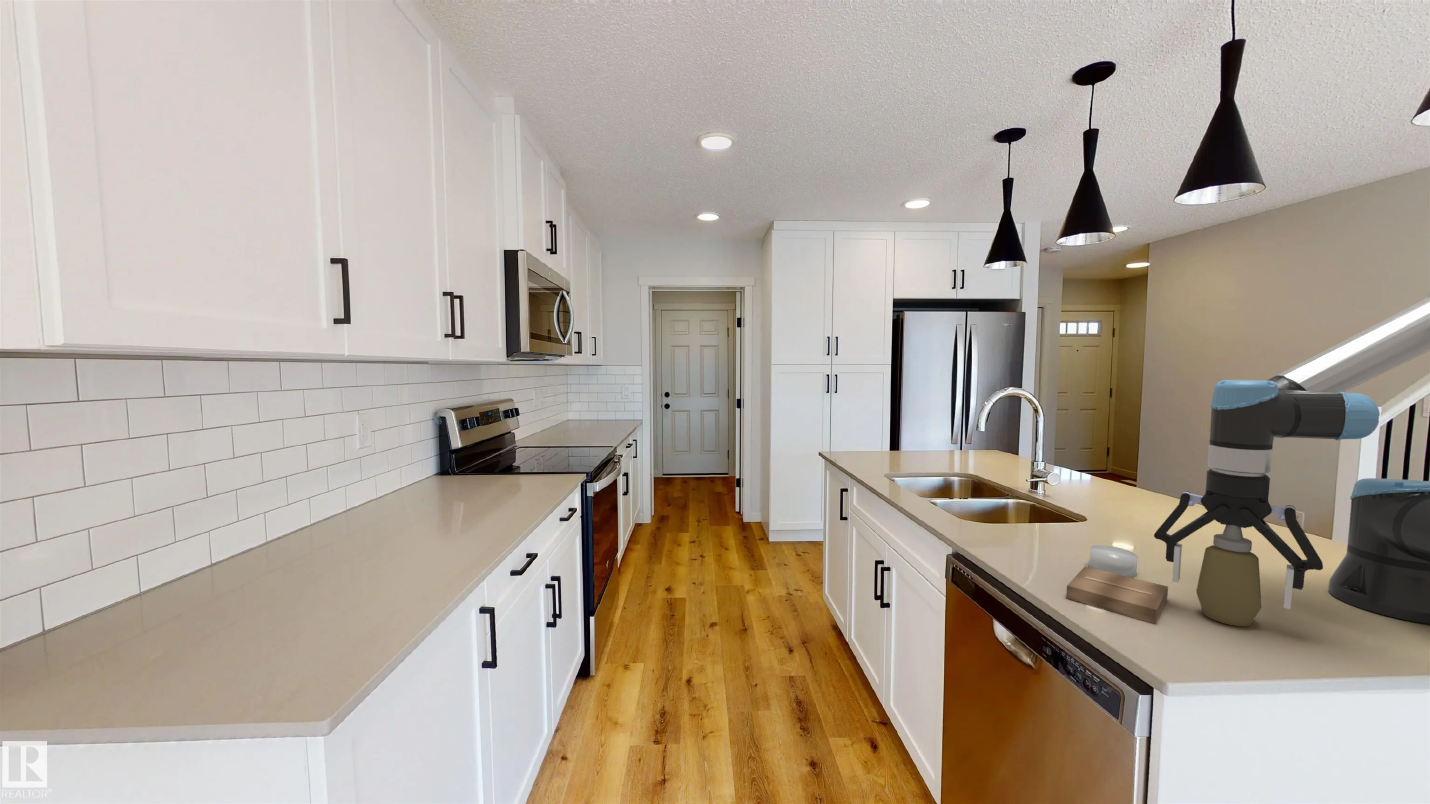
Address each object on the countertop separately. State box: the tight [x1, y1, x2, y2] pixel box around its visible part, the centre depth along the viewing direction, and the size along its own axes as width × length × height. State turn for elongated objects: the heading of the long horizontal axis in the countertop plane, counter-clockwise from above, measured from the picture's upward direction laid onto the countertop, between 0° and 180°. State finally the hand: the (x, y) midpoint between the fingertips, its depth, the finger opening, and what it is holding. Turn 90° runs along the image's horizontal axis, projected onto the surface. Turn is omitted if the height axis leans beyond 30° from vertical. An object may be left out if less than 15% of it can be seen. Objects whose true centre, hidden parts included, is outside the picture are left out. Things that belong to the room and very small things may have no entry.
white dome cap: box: [1088, 544, 1139, 578], centre depth 110 cm, size 8×8×4 cm
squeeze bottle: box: [1196, 525, 1263, 627], centre depth 89 cm, size 8×8×18 cm
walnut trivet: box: [1065, 566, 1169, 625], centre depth 97 cm, size 13×13×3 cm
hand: (1228, 592), depth 89 cm, fingers open, 13 cm apart
